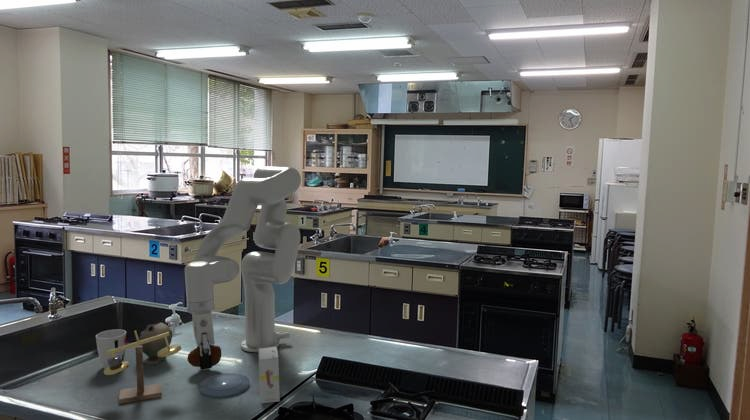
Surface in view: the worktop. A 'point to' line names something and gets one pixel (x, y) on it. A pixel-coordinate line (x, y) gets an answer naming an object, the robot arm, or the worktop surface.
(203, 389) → the plate
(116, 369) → the balance beam
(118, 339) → the cup
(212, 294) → the robot arm
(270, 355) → the ink box
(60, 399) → the worktop surface
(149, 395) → the balance stand
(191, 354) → the potato
